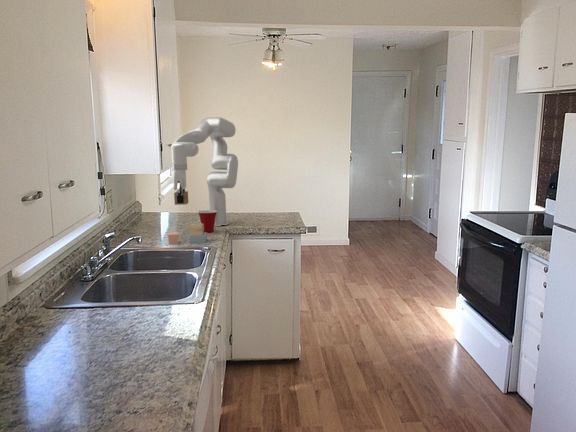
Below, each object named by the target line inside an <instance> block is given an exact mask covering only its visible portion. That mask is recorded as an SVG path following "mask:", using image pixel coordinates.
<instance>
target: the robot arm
mask: <svg viewBox="0 0 576 432" xmlns="http://www.w3.org/2000/svg"><path fill="white" fill-rule="evenodd" d="M235 134H236V127H235V124H234V123H233V122H231V121H230V120H227V119H225V118H223V117H218V116H217V117H216V116H215V117H210V116H209V117H205V118H203V119H201V120H200V122H199V123H198V124H197V125H196V126H195V128H193V129H192V130H189V131H188V132H186V133H183V134H182V135H180V136H178V137H177V138H176V139H175V141H173V143H172V144H171V145H170V146H171V148H170V151H171V165H172V168H171V169H172V171H173V189H174V191H176V192H177V203H184V200H183V191H186V188H187V177H186V176H187V174H186V173H187V172H186V171H188V158H189V157H191V158H192V157H196V156H197V155H198V153H199V145H198V144H202V143H204V142H205V141H206V140H208V138H209V137H210V140H211V143H212V154H211V168H212V169H214V170H218V171H212V172H211V171H210V172H209V173H208V174H207V176H206V184H207V189H208V195H209V196H208V197H209V198H208V199H209V202H208V203H209V210H213V211H217V213H216V217H215V225H214V227H222V226H221V225H226V224H228V225H230V222H229V221H227V204H226V203H227V201H226V199H227V197H226V193H225V191H224V190H223V189H233V188H235V186H236V185H237V181H238V170H239V169H238V168H239V160H238V157H237V155H236V154H235V153H228V143H227V142H226V140H225V138H233V137H234V136H235ZM226 226H227V225H226Z"/></svg>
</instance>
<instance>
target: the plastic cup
mask: <svg viewBox="0 0 576 432" xmlns="http://www.w3.org/2000/svg"><path fill="white" fill-rule="evenodd" d="M197 213H198V217H199V219H200V220H199V221H200V224H204V233H207V234H209V233H210V234H211V233H213V232H214V230H215V226H214V225H215V217H216V213H217V211H213V210H210V209H209V210H206V209H205V210H204V209H203V210H198V211H197Z"/></svg>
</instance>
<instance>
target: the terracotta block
mask: <svg viewBox="0 0 576 432" xmlns="http://www.w3.org/2000/svg"><path fill="white" fill-rule="evenodd" d="M167 242H168V245H178V244H180V237H179V232H178V231H175V232H167Z"/></svg>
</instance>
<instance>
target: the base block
mask: <svg viewBox="0 0 576 432" xmlns="http://www.w3.org/2000/svg"><path fill="white" fill-rule="evenodd" d="M188 237H189V239H188V240H189V244H205V243H207V241H208V233H204V234H203V235H202V236H190V235H189V236H188Z"/></svg>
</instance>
